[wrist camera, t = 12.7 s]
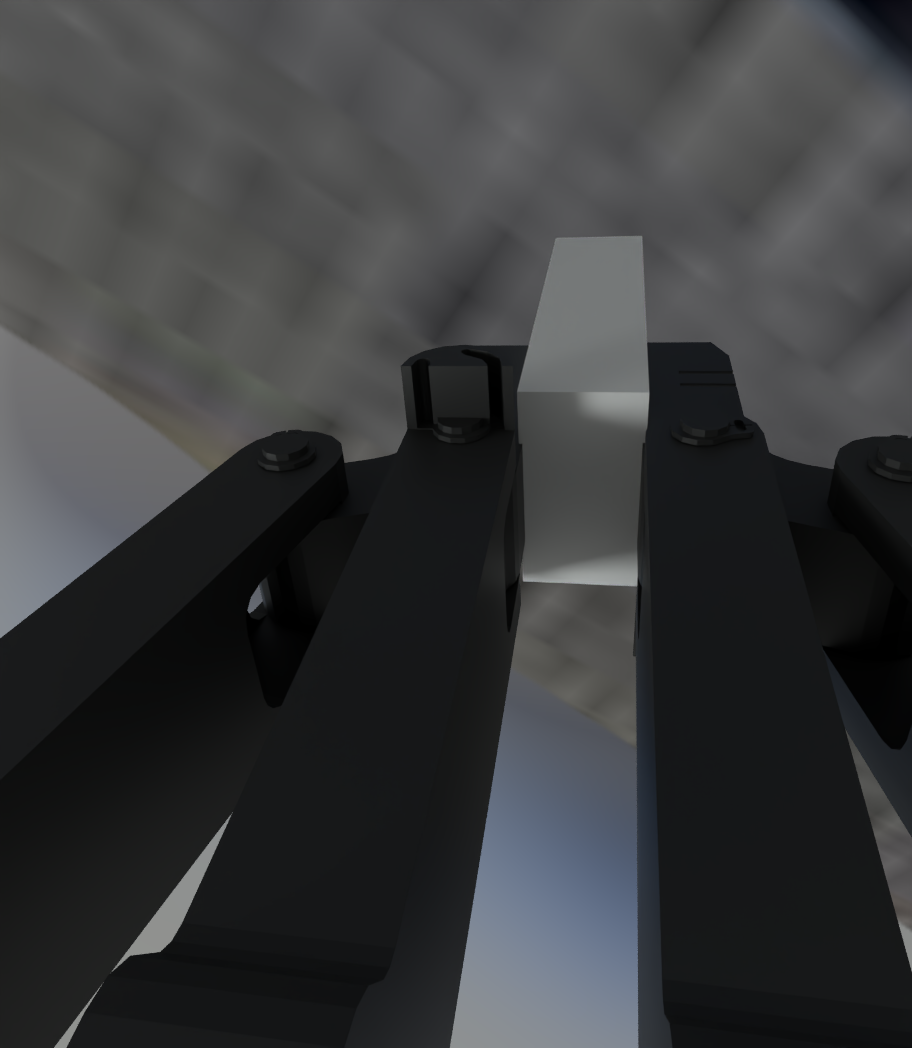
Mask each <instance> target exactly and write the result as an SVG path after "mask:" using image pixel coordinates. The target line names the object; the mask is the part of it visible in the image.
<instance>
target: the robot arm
mask: <svg viewBox="0 0 912 1048" xmlns="http://www.w3.org/2000/svg"><path fill="white" fill-rule="evenodd" d="M401 372H402V382H403V391H404V400H405V409H406V419H407V428H408V429H407V432H406V434H405V436H404V438H403V440H402V443H401V445H400V447H399V449H398V451H397V453H395V454H392V455H389V456H384V457H379V458H375V459H369V460H362V461H355V462H348V463H344V458H343V452H342V446H341V443H340V442H339V441H337V440H336V439H335V438H334V437H332V436H330V435H326V434H323V433H319V432H310V431H301V430H288V432H286V431H281V432H276V433H273V434H272V435H271V436H268V437H265V438H262V439H259V440H256V441H254V442H253V443H251V444H249V445H247V446H246V447H244V448H242V449H241V450H239V451H238V452H237V453H236V454H234V455H233V456H232V457H231V458H229V459H228V460H227V461H225V462H224V463H223V464H222V465H220V466H219V467H218V468H217V469H215V470H214V471H213V472H211V473H210V474H209V475H208V476H206V477H205V478H204V479H203V480H201V481H200V482H199V483H198V484H196V485H195V486H194V487H192V488H191V489H190V490H189V491H187V492H186V493H185V494H183V495H182V496H181V497H180V498H178V499H177V500H176V501H175V502H173V503H172V504H171V505H170V506H168V507H167V508H166V509H164V510H163V511H162V512H161V513H159V514H158V515H157V516H156V517H154V518H153V519H152V520H150V521H149V522H148V523H147V524H145V525H144V526H143V527H142V528H140V529H139V530H138V531H137V532H135V533H134V534H133V535H131V536H130V537H129V538H127V539H126V540H125V541H124V542H123V543H121V544H120V545H119V546H117V547H116V548H115V549H113V550H112V551H111V552H110V553H108V554H107V555H106V556H105V557H103V558H102V559H101V560H100V561H98V562H97V563H96V564H95V565H93V566H92V567H91V568H89V569H88V570H87V571H86V572H84V573H83V574H82V575H80V576H79V577H78V578H77V579H75V580H74V581H73V582H71V584H69V585H68V586H66V587H65V588H64V589H63V590H61V591H60V592H59V593H58V594H56V595H55V596H54V597H52V598H51V599H50V600H49V601H48V602H46V603H45V604H43V605H42V606H41V607H40V608H38V609H37V610H36V611H35V612H33V613H32V614H31V615H29V616H28V617H27V618H26V619H24V620H23V621H22V622H21V623H19V624H18V625H17V626H16V627H14V628H13V629H12V630H10V631H9V632H8V633H7V634H5V635H4V636H3V637H2V638H0V1048H54V1047H55V1045H56V1044H57V1043H58V1041H59V1040H60V1039H61V1037H62V1036H63V1035H64V1034H65V1032H66V1031H67V1030H68V1028H69V1027H70V1026H71V1024H72V1023H73V1022H74V1020H75V1019H76V1018H77V1016H78V1015H79V1014H80V1012H81V1011H82V1010H83V1008H84V1007H85V1006H86V1005H87V1003H88V1002H89V1001H90V999H91V998H92V997H93V995H94V994H95V992H96V991H97V990H98V988H99V987H100V986H101V985H102V986H101V987H100V989H99V991H98V992H97V994H96V995H95V997H94V998H93V1000H92V1002H91V1003H90V1005H89V1006H88V1008H87V1009H86V1011H85V1013H84V1015H83V1016H82V1018H81V1021H80V1022H79V1024H78V1026H77V1028H76V1030H75V1032H74V1034H73V1036H72V1038H71V1040H70V1042H69V1044H68V1046H67V1048H450V1042H451V1036H452V1030H453V1024H454V1018H455V1011H456V1005H457V999H458V993H459V986H460V980H461V974H462V968H463V961H464V955H465V949H466V943H467V937H468V930H469V924H470V918H471V911H472V905H473V899H474V893H475V887H476V880H477V874H478V868H479V862H480V855H481V849H482V843H483V837H484V830H485V824H486V818H487V812H488V805H489V799H490V793H491V787H492V780H493V774H494V768H495V762H496V756H497V749H498V742H499V736H500V731H501V725H502V718H503V712H504V706H505V700H506V693H507V687H508V681H509V674H510V668H511V662H512V656H513V650H514V644H515V637H516V631H517V625H518V619H519V612H520V606H521V596H520V568H521V562H522V564H523V581H530V582H552V583H575V584H597V585H620V586H637V595H636V613H635V631H634V649H633V656H636V732H637V877H638V878H637V882H638V883H637V886H638V887H637V888H638V1025H639V1026H638V1033H639V1034H638V1035H639V1036H638V1037H639V1038H638V1041H639V1042H638V1044H639V1048H912V971H911V968H910V964H909V960H908V957H907V953H906V949H905V946H904V942H903V938H902V935H901V931H900V927H899V924H898V920H897V917H896V913H895V909H894V906H893V902H892V898H891V895H890V891H889V887H888V884H887V880H886V876H885V873H884V869H883V866H882V862H881V858H880V855H879V851H878V847H877V844H876V840H875V836H874V833H873V829H872V825H871V822H870V818H869V815H868V811H867V807H866V804H865V800H864V796H863V793H862V789H861V785H860V782H859V778H858V774H857V771H856V767H855V764H854V760H853V756H852V753H851V749H850V745H849V742H848V738H847V734H846V731H847V732H848V734H849V736H850V737H851V739H852V741H853V742H854V744H855V746H856V747H857V749H858V750H859V752H860V754H861V755H862V757H863V759H864V760H865V762H866V763H867V765H868V767H869V768H870V770H871V772H872V773H873V775H874V777H875V778H876V780H877V781H878V783H879V785H880V786H881V788H882V790H883V791H884V793H885V794H886V796H887V798H888V799H889V801H890V803H891V804H892V806H893V808H894V809H895V811H896V812H897V814H898V816H899V817H900V819H901V821H902V822H903V824H904V825H905V827H906V829H907V830H908V832H909V834H910V835H911V837H912V437H911V439H910V438H908V436H902V435H892V436H890V437H869V438H864V439H859V440H855V441H852V442H850V443H849V444H847V445H845V446H843V447H842V448H840V449H839V452H838V454H837V457H836V460H835V465H834V469H828V468H823V467H817V466H811V465H806V464H802V463H798V462H793V461H789V460H786V459H783V458H781V457H778V456H775V455H773V454H771V453H769V450H768V447H767V443H766V439H765V436H764V433H763V432H762V430H761V429H760V427H759V426H758V425H757V423H755V422H753V421H751V420H750V419H748V418H746V417H744V415H743V411H742V407H741V403H740V399H739V395H738V391H737V387H736V383H735V378H734V374H733V370H732V366H731V362H730V358H729V355H727V354H726V353H725V352H723V351H722V350H721V349H719V348H718V347H717V346H715V345H714V344H712V343H711V342H681V343H647V332H646V311H645V290H644V269H643V248H642V236H615V237H574V238H556V240H555V244H554V248H553V252H552V256H551V260H550V264H549V268H548V271H547V275H546V279H545V283H544V287H543V291H542V295H541V299H540V303H539V307H538V311H537V315H536V319H535V323H534V327H533V331H532V335H531V339H530V343H529V346H472V345H458V346H444V347H440V348H435V349H431V350H427V351H423V352H421V353H419V354H417V355H415V356H412V357H410V358H409V359H408V360H407V361H406V362H405V363H404V364H402V365H401ZM258 585H259V587H260V590H261V595H262V599H263V602H262V603H261V604H260V605H259V606H258V607H257V608H256V609H255V610H254V611H253V612H251V613H250V614H249V613H248V611H247V609H248V605H249V602H250V599H251V596H252V595H253V593H254V592H255V590H256V588H257V587H258ZM845 729H846V731H845ZM232 812H233V813H232ZM231 814H232V815H231ZM230 815H231V817H230V820H229V822H228V824H227V826H226V829H225V830H224V833H223V835H222V837H221V839H220V841H219V844H218V846H217V848H216V850H215V853H214V855H213V857H212V859H211V861H210V863H209V866H208V868H207V870H206V872H205V875H204V877H203V879H202V881H201V883H200V885H199V888H198V890H197V892H196V894H195V896H194V898H193V901H192V903H191V905H190V907H189V909H188V912H187V914H186V916H185V918H184V921H183V923H182V925H181V926H180V928H179V929H178V931H177V933H176V935H175V936H174V938H173V940H172V941H171V942H170V943H169V944H168V945H167V946H166V947H165V948H164V949H163V950H162V951H161V952H157V953H149V954H142V955H133V956H130V957H128V958H127V959H126V960H125V961H124V962H123V963H122V964H121V965H119V966H118V967H117V968H116V969H115V970H114V971H113V972H112V970H113V969H114V968H115V966H116V965H117V964H118V962H119V961H120V960H121V958H122V957H123V956H124V954H125V953H126V952H127V951H128V949H129V948H130V947H131V945H132V944H133V943H134V941H135V940H136V939H137V937H138V936H139V935H140V933H141V932H142V931H143V929H144V928H145V927H146V925H147V924H148V923H149V922H150V920H151V919H152V918H153V916H154V915H155V914H156V912H157V911H158V910H159V908H160V907H161V906H162V904H163V903H164V902H165V900H166V899H167V898H168V896H169V895H170V894H171V893H172V891H173V890H174V889H175V887H176V886H177V885H178V883H179V882H180V881H181V879H182V878H183V877H184V875H185V874H186V873H187V871H188V870H189V869H190V868H191V866H192V865H193V864H194V862H195V861H196V859H197V858H198V857H199V856H200V854H201V853H202V852H203V850H204V849H205V848H206V846H207V845H208V844H209V842H210V841H211V840H212V839H213V837H214V836H215V834H216V833H217V832H218V831H219V829H220V828H221V827H222V825H223V824H224V823H225V821H226V820H227V819H228V817H229V816H230ZM103 982H104V983H103ZM102 983H103V984H102Z"/></svg>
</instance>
